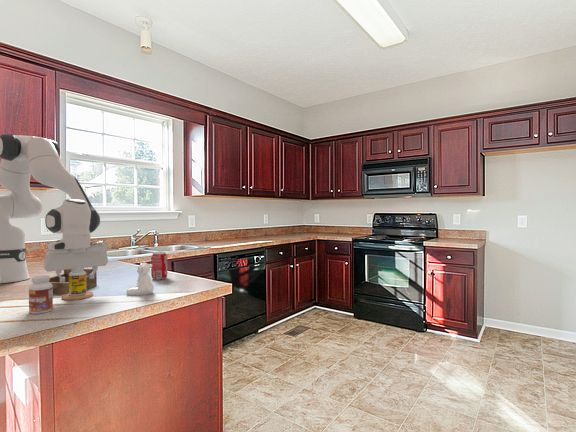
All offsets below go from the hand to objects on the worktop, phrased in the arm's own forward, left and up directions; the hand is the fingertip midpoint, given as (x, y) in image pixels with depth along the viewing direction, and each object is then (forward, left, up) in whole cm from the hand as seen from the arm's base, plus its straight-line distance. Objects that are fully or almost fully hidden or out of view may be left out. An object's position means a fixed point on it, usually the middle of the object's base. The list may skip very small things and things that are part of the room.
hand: (77, 280), depth 128 cm
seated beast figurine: (+22, +6, -6) cm, 24 cm away
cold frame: (-11, +12, -6) cm, 17 cm away
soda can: (+17, +33, -6) cm, 38 cm away
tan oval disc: (0, 0, -6) cm, 6 cm away
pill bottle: (0, -18, -6) cm, 19 cm away
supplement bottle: (0, 0, -6) cm, 6 cm away
